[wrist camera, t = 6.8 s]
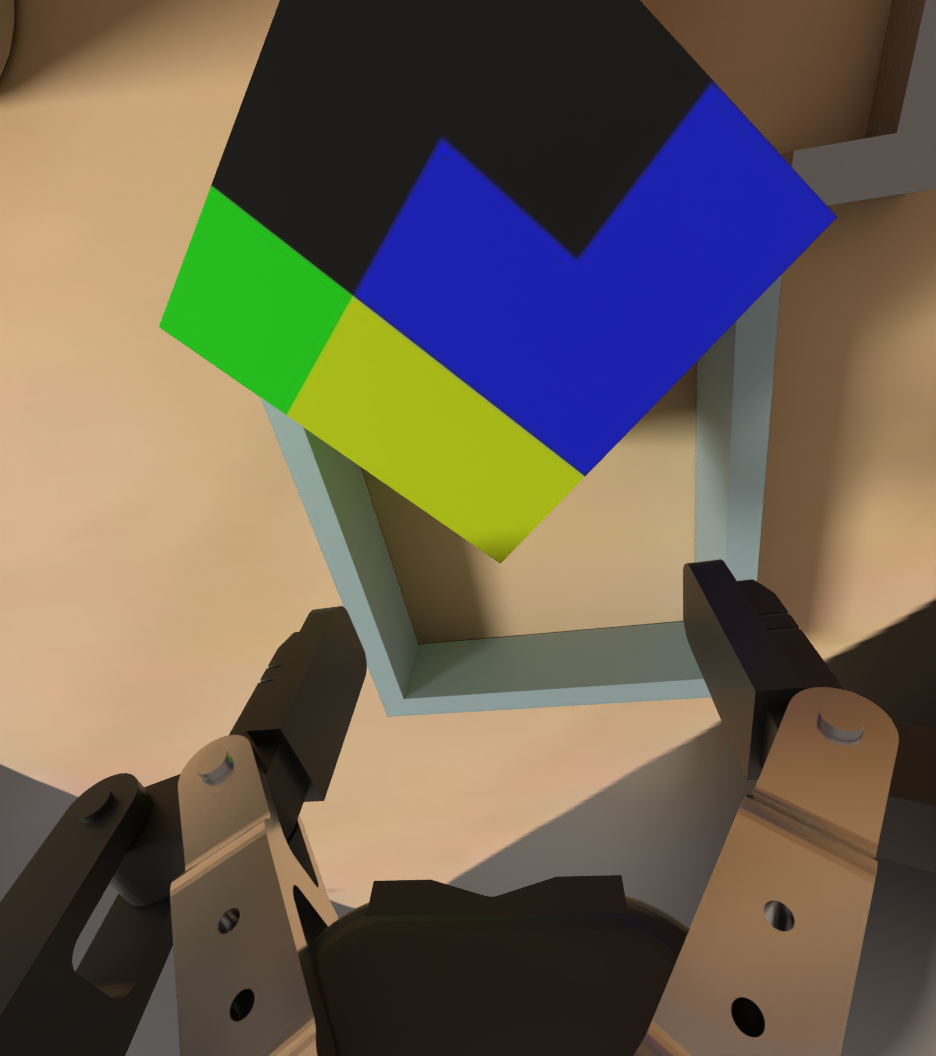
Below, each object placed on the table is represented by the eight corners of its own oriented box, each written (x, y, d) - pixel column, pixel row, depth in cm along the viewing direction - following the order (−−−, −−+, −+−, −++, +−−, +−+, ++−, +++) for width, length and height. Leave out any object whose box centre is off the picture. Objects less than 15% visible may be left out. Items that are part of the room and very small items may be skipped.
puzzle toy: (686, 232, 18) (838, 216, 9) (510, 441, 22) (500, 563, 14) (462, 13, 16) (383, -280, 7) (317, 293, 20) (158, 326, 11)
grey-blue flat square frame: (292, 342, 21) (245, 361, 18) (733, 247, 18) (783, 246, 14) (404, 661, 29) (387, 716, 26) (718, 636, 26) (747, 695, 23)
